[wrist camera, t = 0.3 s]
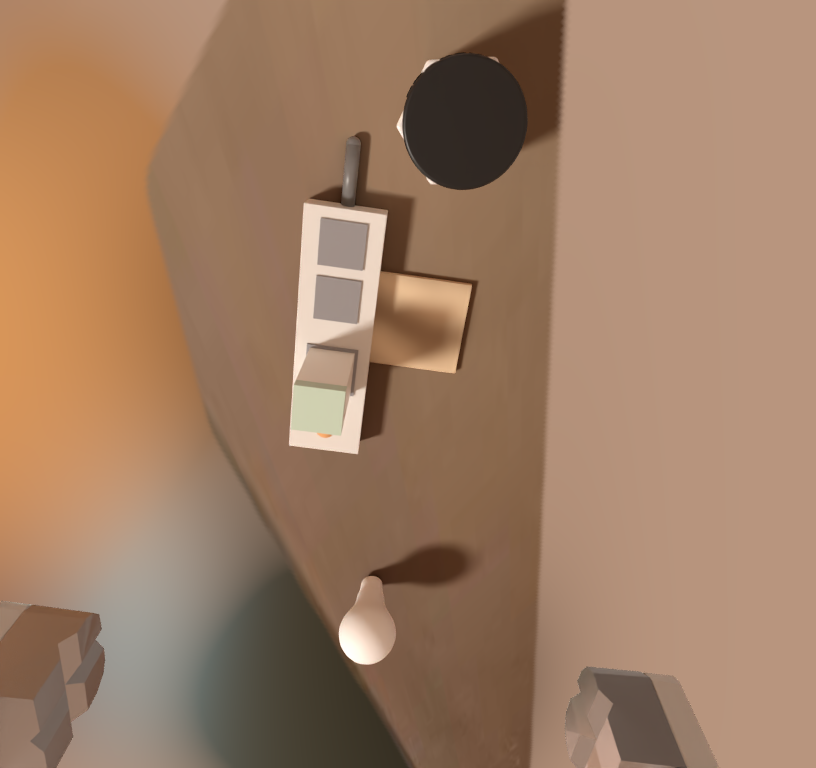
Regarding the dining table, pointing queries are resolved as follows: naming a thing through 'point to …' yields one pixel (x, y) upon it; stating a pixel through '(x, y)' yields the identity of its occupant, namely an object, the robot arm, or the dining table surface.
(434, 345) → the coaster
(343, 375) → the block
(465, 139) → the jar
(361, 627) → the lightbulb
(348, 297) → the power strip
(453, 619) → the dining table surface
